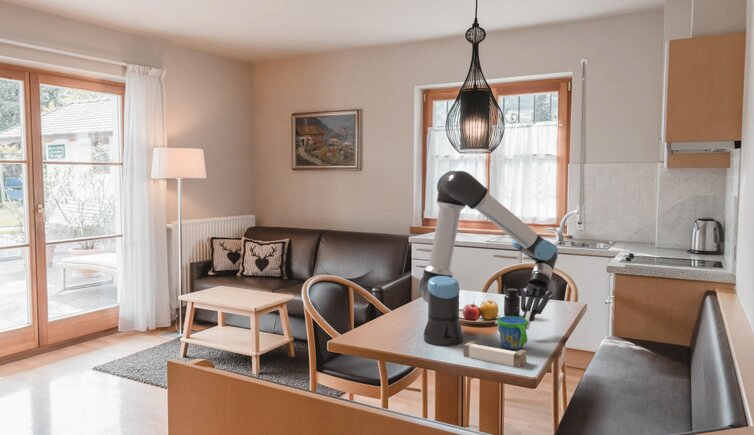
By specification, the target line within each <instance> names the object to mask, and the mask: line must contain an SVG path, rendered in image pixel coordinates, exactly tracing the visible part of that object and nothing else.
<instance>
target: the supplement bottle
mask: <svg viewBox="0 0 754 435" xmlns="http://www.w3.org/2000/svg"><path fill="white" fill-rule="evenodd" d="M503 297H504V299H503V317H505V316H515V317H521V316H520V314H521V313H520V312H521V311H520V310H521V296H519V290H518V289H517V288H507V289H506V294H505V295H504V296H503Z"/></svg>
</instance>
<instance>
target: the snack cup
mask: <svg viewBox="0 0 754 435" xmlns="http://www.w3.org/2000/svg"><path fill="white" fill-rule="evenodd" d="M496 323H497V324H498V332H499V335H500V337H499V338H500V342H501V346H502V348H505V349H506V350H511V351H517V350H518V351H519V350H522V348H524V345H525V344H527V343H528V335H527V334H528V333H527V329H526V327H527V325H528V321H527V320H526V319H524V318H523V317H521V316H519V317H515V316H500V317H498V318H497V322H496Z"/></svg>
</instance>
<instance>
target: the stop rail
mask: <svg viewBox="0 0 754 435" xmlns="http://www.w3.org/2000/svg"><path fill="white" fill-rule="evenodd" d="M463 357H466V358H471V359H475V360H479V359H480V360H481V361H484V360H485V362H488V363H489V362H490V363H495V364H500V365H505V366H510V367H515V368H519V369H520V368H521V367H523V366H524V365H525V364H526V363H527V350H525V349H518V351H516V350H510V349H502V348H498V347H492V346H486V345H480V344H477V341H476V340H475V341H474V340H470V341H468V342H466V343H464V344H463ZM480 360H479V361H480Z"/></svg>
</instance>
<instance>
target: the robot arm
mask: <svg viewBox="0 0 754 435" xmlns="http://www.w3.org/2000/svg"><path fill="white" fill-rule="evenodd" d="M436 189H437V199H436V203H437V205H438V214H437V219H436V225H435V229H434V230H435V231H434V235H433V242H432V246H431V252H430V258H429V262H428V265H427V266H426V267H424V269H423V274H422V277H421V278H420V280H419V283H418V291H419V294H420V297H421V298H422V299H423V301H425V303H427V317H428V318H427V322H426V326H425V328H424V331H423V341H424V342H426V343H428V344H430V345H431V344H432V345H437V346H456V345H459V344H461V343H463V342H464V340H465V339H464V331H463V329H462V328H463V327H462V326H461V322H460V288H461V287H460V283H459V281H458V280H457V279H456V278H455V277H453V275H454V274H453V271H452V270H451V266H452V259H453V254H454V249H455V243H456V238H457V233H458V228H459V227H458V226H459V223H460V218H461V217H460V216H461V212H462V210H464V209H466V206H467V207H468V208H469V209H471V210H476V211H477V212H478V213H479V214H481V215H482V216H484V217H485V218H486V219H487V220H488V221H490V222H491V223H492V224H493V225H495V226H496V227H497V228H498V229H500V230H501V231H502V232H503V233H505V234H506V235H507V236H509V238H511V239H512V243H511V246H512V247H513V248H515V249H516V250H517V251H520V253H523V255H525V256H526V257H528V258H530V259H531V260H532V261H535V262H534V266H533V269H532V271H531V275H530V278H529V283H528V285H526V287H524V288H523V287H520V289H519V290H520V294H521V296H520V310H521V312H522V313H523V315H522V318H524V319H526V320H527V321H528V325H527V327H526V331H527V330H528V331H529V330H530V325H531V323H532V322H534V321H535V318H536V315H541V314H542V313H543V310H544V309H545V307H546V306H547V304H548V302H549V301H550V300H551V299H552V298H553V297H554V295H553V291H551V290H550V291H549V286H550V283H551V279H552V275H553V271H554V268H555V265H556V262H557V260H558V256H559V249H558V247H557V245H555V243H553V242H551V241H549V240H546V239H545V238H543V237H542V236H541V235H539V234H538V233H537V232H536V231H535V230H534V229H532V228H531V227H530V226H529V225H527V224H526V223H525V222H523V220H521V219H520V218H519V217H518V216H516V214H514V213H513V212H511V210H509V209H508V208H507V207H505V206H504V205H503V204H502V203H500V201H499V200H497V199H496V198H495V197H493V196H492V195H491V194H490V193H489V189H488V188H486V186H484V185H483V184H482V183H481V182H480V181H479V180H478V179H476V177H474V176H473V175H472V174H471V173H469V172H466V171H463V170H451V171H447V172H445V173H443V174H442V175H441V176H440V177H439V179H438V180H437V184H436ZM527 293H528V299H527V298H526V297H527ZM542 297H543V298H542ZM526 300H527V302H526Z"/></svg>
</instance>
